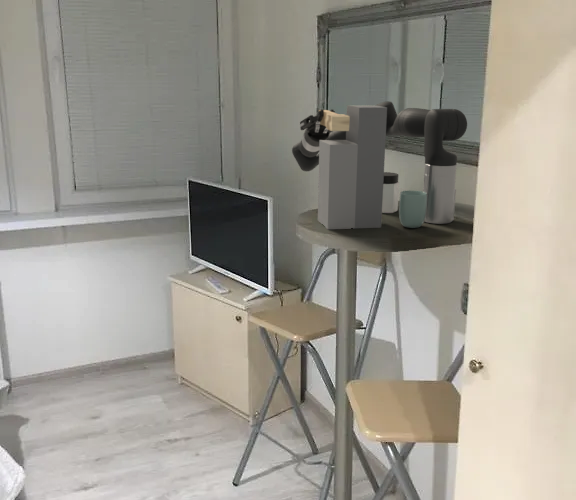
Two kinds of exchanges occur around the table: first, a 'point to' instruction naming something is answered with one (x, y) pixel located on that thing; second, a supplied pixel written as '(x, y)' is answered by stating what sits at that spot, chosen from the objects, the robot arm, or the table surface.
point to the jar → (390, 192)
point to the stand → (354, 172)
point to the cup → (412, 208)
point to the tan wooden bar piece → (335, 121)
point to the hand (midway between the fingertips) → (327, 112)
